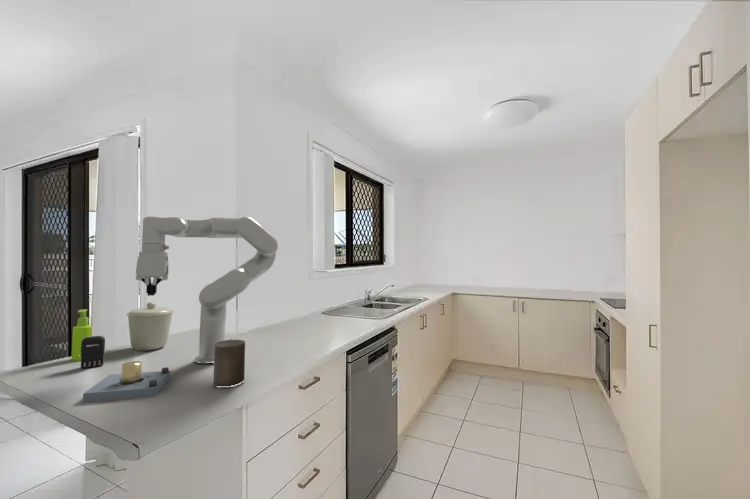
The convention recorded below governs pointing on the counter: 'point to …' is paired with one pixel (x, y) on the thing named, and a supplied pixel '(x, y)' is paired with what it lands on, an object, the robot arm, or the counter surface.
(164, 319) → the canister
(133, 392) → the plate
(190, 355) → the counter surface
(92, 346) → the battery charger
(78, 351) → the soap dispenser
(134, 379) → the brass cylinder
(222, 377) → the pillar candle
